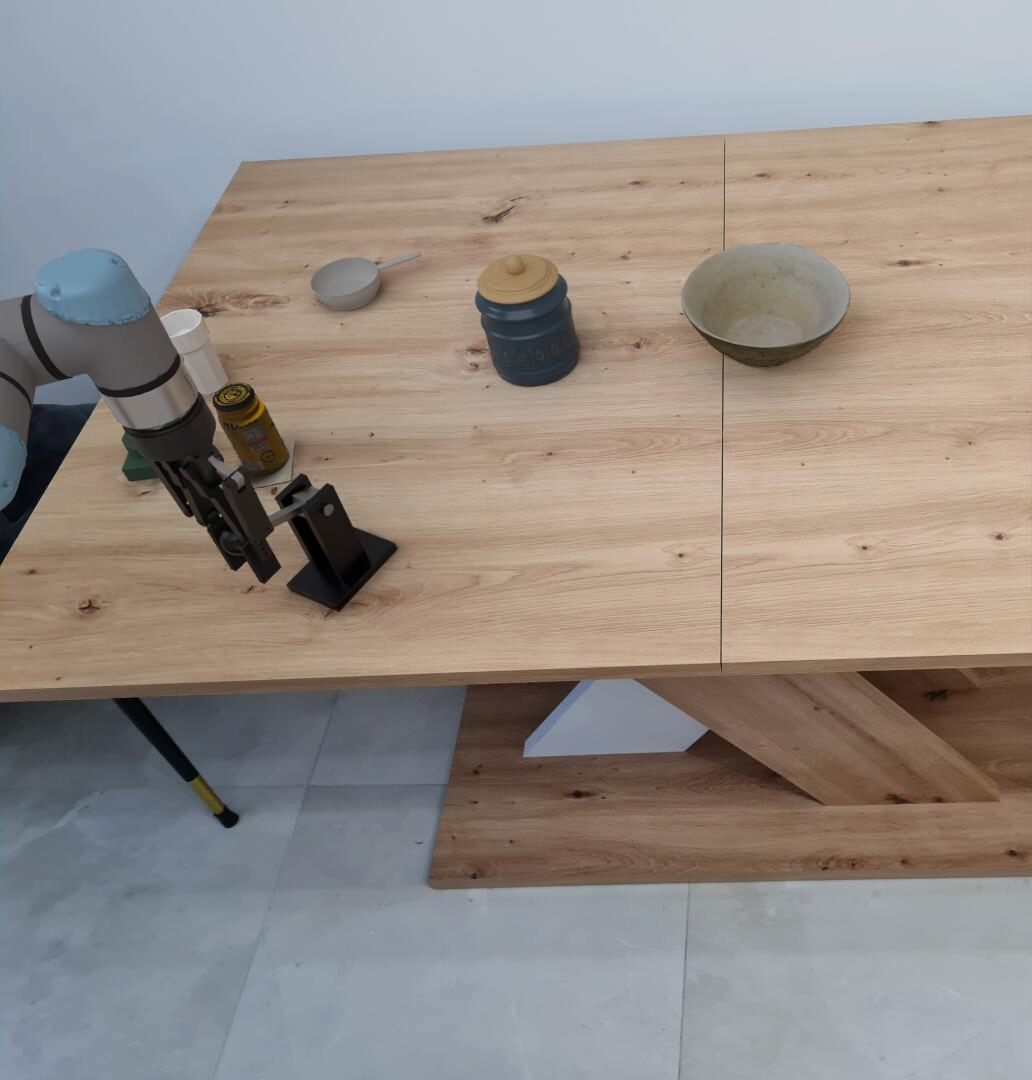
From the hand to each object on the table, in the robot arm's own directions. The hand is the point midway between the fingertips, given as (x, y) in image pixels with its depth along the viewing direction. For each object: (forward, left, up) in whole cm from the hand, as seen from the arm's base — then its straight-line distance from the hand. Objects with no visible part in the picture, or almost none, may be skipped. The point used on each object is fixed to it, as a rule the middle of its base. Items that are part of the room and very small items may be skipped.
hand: (256, 568), depth 116 cm
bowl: (+69, -29, -11) cm, 76 cm away
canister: (+53, +1, -11) cm, 54 cm away
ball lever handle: (+4, 0, +2) cm, 4 cm away
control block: (+15, +39, -10) cm, 43 cm away
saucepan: (+58, +37, -11) cm, 70 cm away
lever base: (+9, 0, -10) cm, 14 cm away
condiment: (+19, +23, -11) cm, 32 cm away
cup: (+29, +44, -11) cm, 54 cm away
